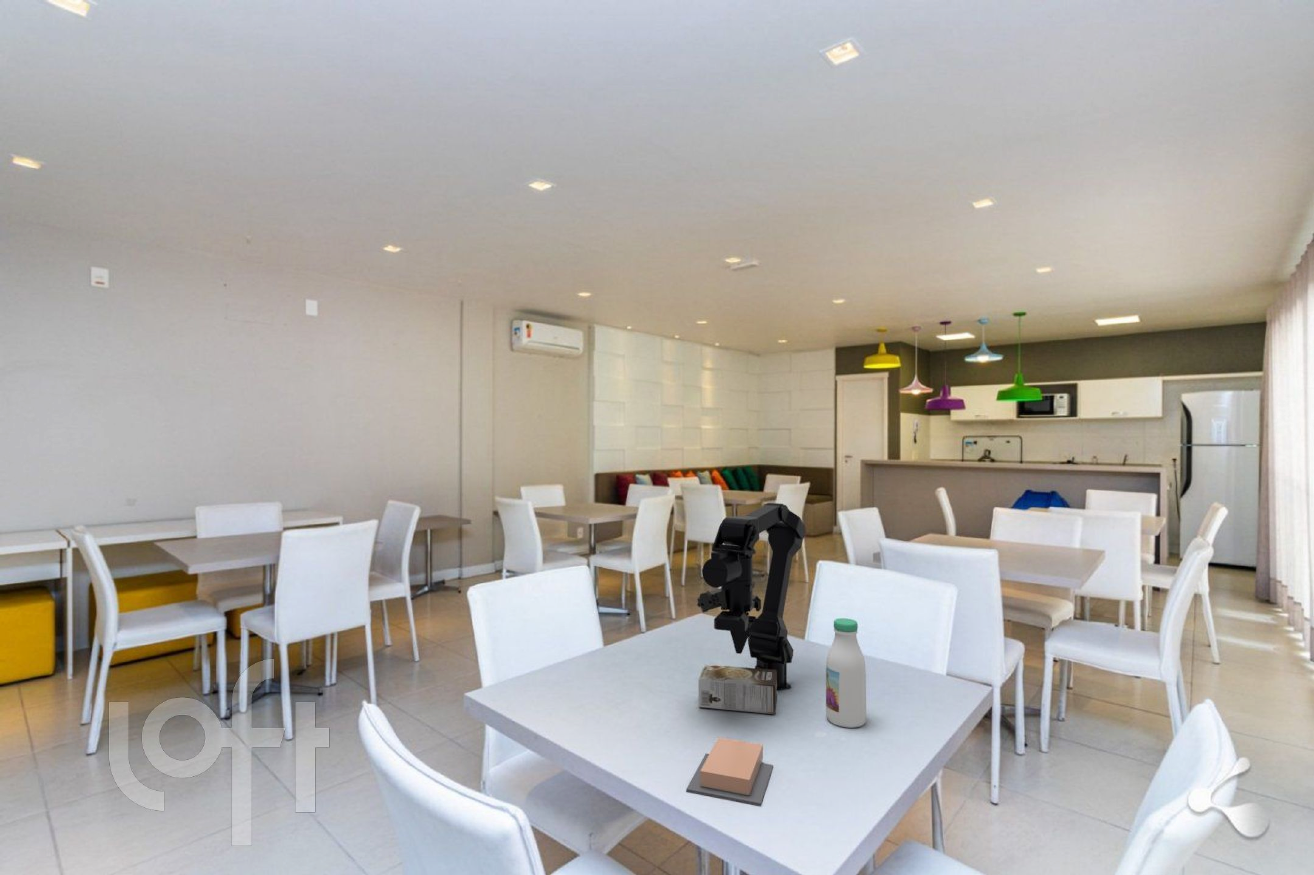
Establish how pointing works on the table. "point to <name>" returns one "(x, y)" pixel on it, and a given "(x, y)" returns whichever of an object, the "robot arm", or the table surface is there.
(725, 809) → the table surface
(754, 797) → the mat
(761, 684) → the coffee box
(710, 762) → the block
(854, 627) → the milk bottle
